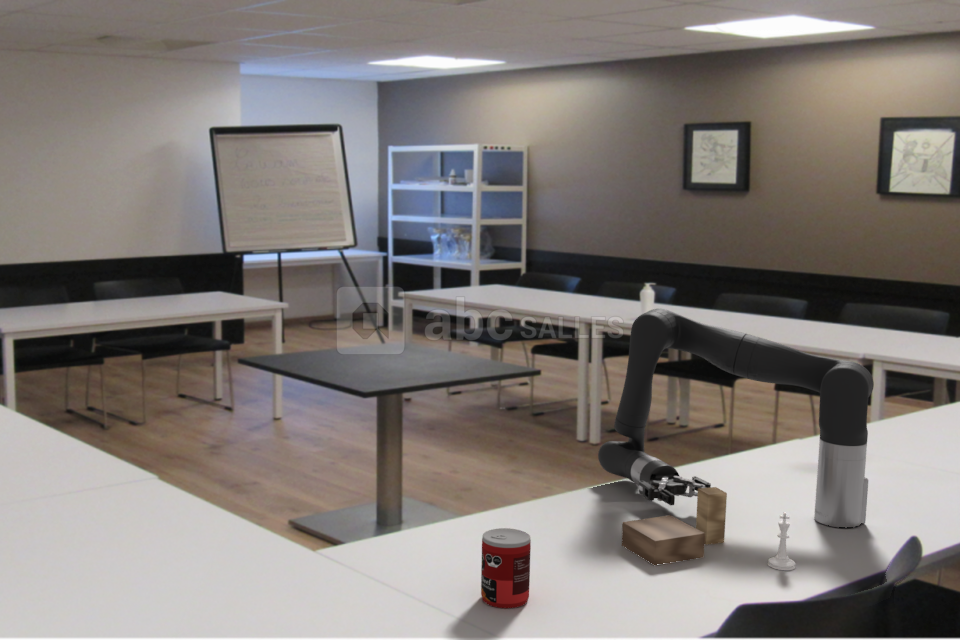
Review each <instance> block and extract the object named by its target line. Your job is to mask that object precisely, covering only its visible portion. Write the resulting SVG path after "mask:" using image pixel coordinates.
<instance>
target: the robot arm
mask: <svg viewBox="0 0 960 640" xmlns="http://www.w3.org/2000/svg"><path fill="white" fill-rule="evenodd" d="M631 325H632V326H631V330H630V336H629V349H628V362H627V365H626V366H627V367H626V374H625V380H624V384H623V389H622V393H621V397H620V400H619V405H618V408H617V412H616V415H615V416H616V417H615V419H614V430H615V431H616V432H617V433H618V434H619V435H621V436H624V437H626V438H628V441H618V440H609V441H606V442H604V443H603V444H602V445H601V446H600V447H599V449H598V453H597V458H598V463H599V465H600V466H601V468H602V469H604V471H606V472H607V473H609V474H612V475H615V476H618V477H622V478H625V479H628V480H629V481H631V482H633V483H634V484H635V485H636V486H638V494H640V495H641V496H642V497H644V498H645V499H646V500H648V501H650V502H651V501H653V502H654V501H655V499H657V501H659V502H664V503H665V504H667V505H668V506H675V504H676V503H675V499H676V497H679V496H682V497H686V498H693V497H698V488H710V487H711V486H712V484H711V483H710V482H708V481H706V480H705V479H702V478H700V477H698V476H697V475H696V476H691V477H692V478H691V479H690V478H689V479H688V478H683V477H682V476H680V474H679V472H678V470H677V469H676V468H675V467H674V466H672V465H670V464H669V463H667V462H665V461H663V460H661V459H659V458H658V457H655V456H652V455H650V454H648V453H646V452H645V429H646V425H647V421H648V419H649V414H650V412H651V411H650V410H651V407H652V406H651V405H652V395H653V379H654V373H655V370H656V368H657V367H656V366H657V364H658V361H659V359H660V357H661V355H662V353H663V351H664V350H665V349H672V350H676V351H677V350H678V351H681V352H686V353H690V354H693V355H696V356H699V357H700V358H702V359H704V360H705V361H707V362H708V363H711V365H713V366H715V367H717V368H719V369H720V370H722V371H725V372H727V373H729V374H732V375H735V376H738V377H741V378H745V379H749V380H751V381H755V382H761V383H769V384H776V385H787V386H796V387H801V388H805V389H809V390H811V391H814V392H818V393H819V408H818V410H819V411H818V412H819V413H818V426H819V443H818V445H819V446H818V458H817V459H818V460H817V470H816V471H817V473H816V474H817V475H816V484H815V485H816V489H815V491H816V492H815V499H814V501H815V503H814V515H813V516H814V517H813V518H814V520H815V521H816V522H818V523H819V524H822V525H825V526H828V525H829V526H828V527H834V528H839V527H845V528H844V529H848V528H847V527H853V528H856V527H855V526H858V525H860V524H861V523H864V524H866V519H867V518H866V517H867V505H868V492H869V479H868V478H867V477H866V462H867V447H868V436H869V431H868V424H867V423H868V408H869V407H868V406H869V397H870V396H871V395H872V393H873V390H874V379H873V376H872V374H871V372H870V370H868V369H867V368H866V367H864V366H863V365H862V364H860V363H858V362H854V361H850V360H845V359H837V358H832V357H826V356H821V355H816V354H811V353H808V352H804V351H802V350H799V349H798V348H797V349H796V348H793V347H791V346H788V345H785V344H782V343H779V342H775V341H772V340H770V339H767V338H763V337H760V336H756V335H753V334H748V333H747V332H746V333H744V332H741V331H736V330H733V329H728V328H724V327H722V326H721V327H720V326H715V325H711V324H705V323H702V322H701V321H696V320H694V319H691V318H688V317H686V316H684V315H681V314H679V313H676V312H674V311H671V310H669V309H665V308H654V309H653V308H652V309H650V310H648V311H646V312H644V313H642V314H640V315H639V316H638V317H636V318H635V320H634V321H633V323H632V324H631ZM687 490H688V492H687ZM861 525H862V524H861ZM861 525H860V526H861ZM858 527H859V526H858Z"/></svg>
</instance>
